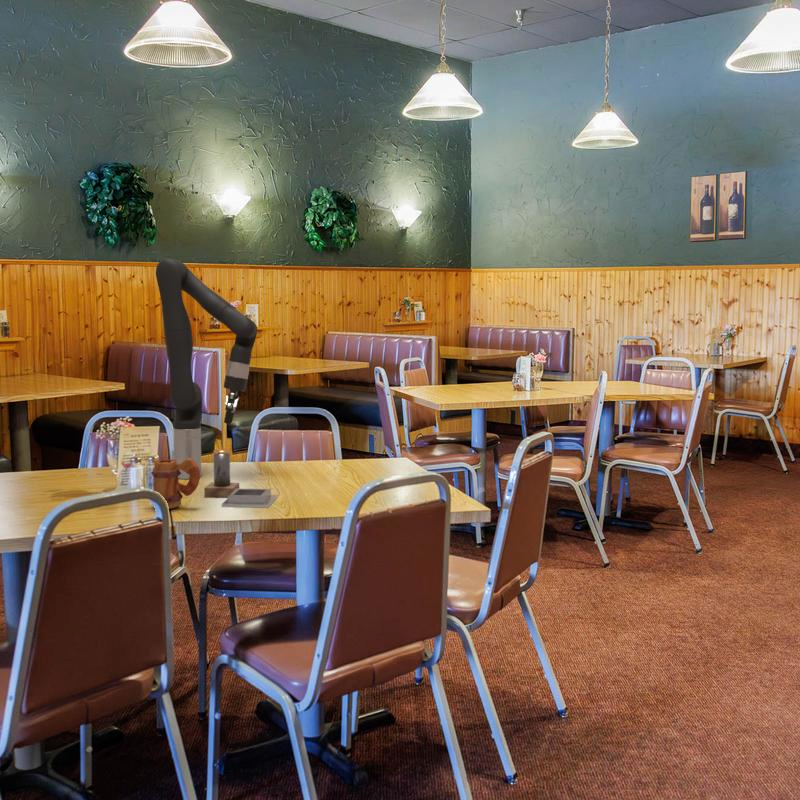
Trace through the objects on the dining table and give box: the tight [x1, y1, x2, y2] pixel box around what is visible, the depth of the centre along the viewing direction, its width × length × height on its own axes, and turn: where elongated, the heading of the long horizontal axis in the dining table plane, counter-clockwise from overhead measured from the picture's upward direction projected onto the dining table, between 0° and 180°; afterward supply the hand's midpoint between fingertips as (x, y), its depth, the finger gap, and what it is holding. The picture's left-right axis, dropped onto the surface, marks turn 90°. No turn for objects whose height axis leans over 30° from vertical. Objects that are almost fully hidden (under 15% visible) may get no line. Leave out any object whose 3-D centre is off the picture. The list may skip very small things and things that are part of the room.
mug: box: [150, 458, 201, 510], centre depth 265 cm, size 15×8×15 cm, turn 82°
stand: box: [203, 481, 240, 499], centre depth 285 cm, size 9×9×3 cm
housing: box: [221, 488, 278, 509], centre depth 275 cm, size 14×14×3 cm
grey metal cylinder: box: [213, 448, 231, 487], centre depth 284 cm, size 5×5×11 cm
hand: (227, 422), depth 306 cm, fingers open, 8 cm apart
